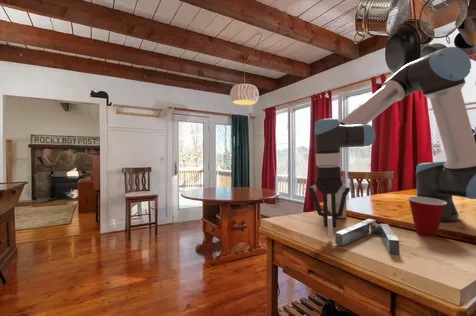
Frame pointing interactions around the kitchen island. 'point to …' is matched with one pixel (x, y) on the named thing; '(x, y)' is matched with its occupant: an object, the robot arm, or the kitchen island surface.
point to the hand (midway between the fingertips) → (330, 236)
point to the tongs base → (387, 237)
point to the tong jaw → (353, 232)
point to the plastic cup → (426, 214)
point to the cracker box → (338, 197)
